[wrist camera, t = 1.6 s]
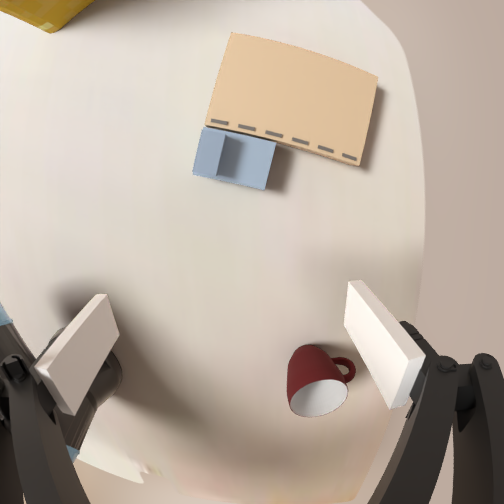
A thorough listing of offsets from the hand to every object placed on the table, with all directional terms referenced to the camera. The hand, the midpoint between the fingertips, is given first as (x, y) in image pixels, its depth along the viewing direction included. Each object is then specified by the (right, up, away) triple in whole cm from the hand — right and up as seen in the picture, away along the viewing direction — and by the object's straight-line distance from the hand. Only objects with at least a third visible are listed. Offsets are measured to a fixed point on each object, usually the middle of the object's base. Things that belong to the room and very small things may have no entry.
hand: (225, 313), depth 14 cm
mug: (+11, -13, +27) cm, 32 cm away
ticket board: (+6, +21, +15) cm, 27 cm away
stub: (-1, +14, +18) cm, 23 cm away
